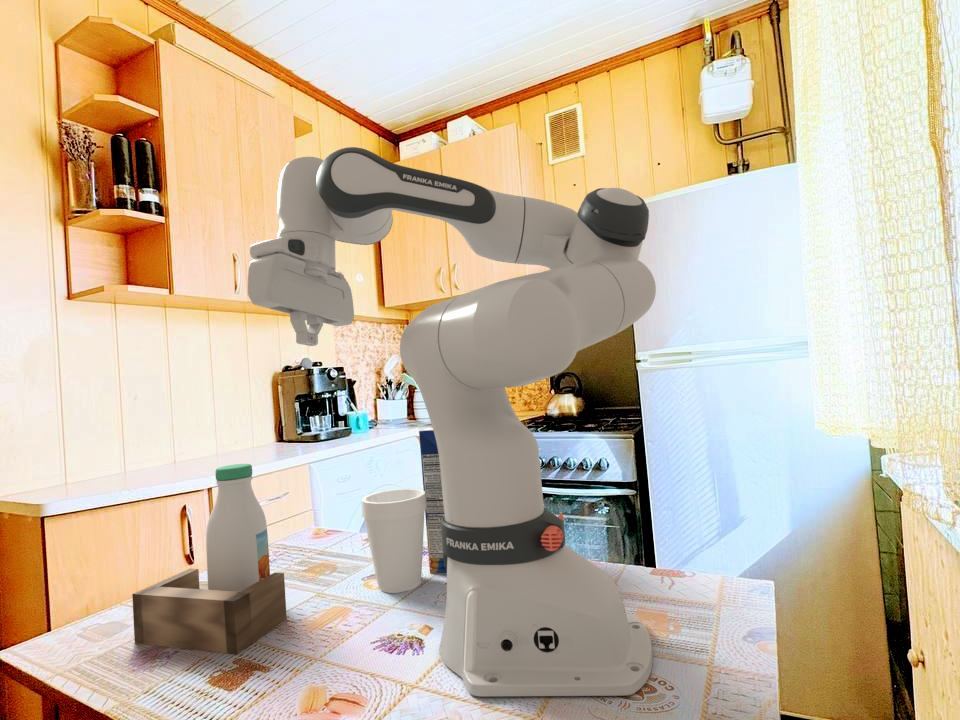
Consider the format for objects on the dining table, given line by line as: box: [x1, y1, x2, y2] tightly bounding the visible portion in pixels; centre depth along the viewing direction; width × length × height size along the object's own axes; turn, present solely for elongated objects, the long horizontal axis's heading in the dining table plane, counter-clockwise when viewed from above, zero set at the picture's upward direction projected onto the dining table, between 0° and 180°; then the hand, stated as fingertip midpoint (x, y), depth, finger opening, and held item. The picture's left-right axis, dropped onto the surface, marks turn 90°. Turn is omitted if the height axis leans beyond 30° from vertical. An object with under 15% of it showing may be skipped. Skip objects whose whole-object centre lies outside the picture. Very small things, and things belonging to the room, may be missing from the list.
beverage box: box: [418, 426, 447, 574], centre depth 82 cm, size 7×11×22 cm, turn 167°
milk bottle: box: [205, 463, 271, 592], centre depth 69 cm, size 8×8×20 cm
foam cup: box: [361, 487, 426, 594], centre depth 74 cm, size 10×9×13 cm
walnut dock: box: [131, 568, 288, 655], centre depth 64 cm, size 16×8×6 cm, turn 72°
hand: (307, 344), depth 78 cm, fingers closed
